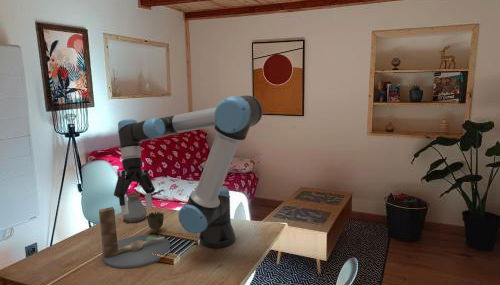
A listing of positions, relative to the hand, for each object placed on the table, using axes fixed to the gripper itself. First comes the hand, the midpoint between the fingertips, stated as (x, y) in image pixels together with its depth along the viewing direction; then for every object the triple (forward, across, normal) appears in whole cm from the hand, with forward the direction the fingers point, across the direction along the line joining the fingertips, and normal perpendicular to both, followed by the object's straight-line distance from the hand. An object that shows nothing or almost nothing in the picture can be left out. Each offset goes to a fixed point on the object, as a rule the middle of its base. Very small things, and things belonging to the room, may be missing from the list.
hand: (138, 211), depth 139 cm
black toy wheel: (+11, -22, -11) cm, 26 cm away
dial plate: (+16, -3, -5) cm, 17 cm away
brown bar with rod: (+14, -2, -5) cm, 15 cm away
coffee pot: (+5, -32, -25) cm, 41 cm away
